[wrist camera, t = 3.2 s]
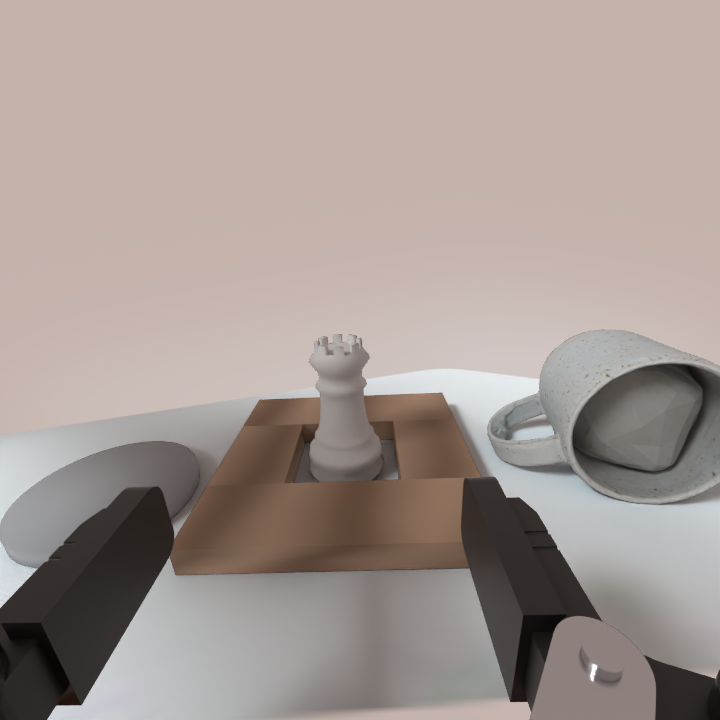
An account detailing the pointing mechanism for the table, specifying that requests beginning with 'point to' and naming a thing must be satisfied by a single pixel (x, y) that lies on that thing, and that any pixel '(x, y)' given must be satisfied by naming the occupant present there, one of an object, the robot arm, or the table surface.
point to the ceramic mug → (622, 417)
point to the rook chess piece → (343, 415)
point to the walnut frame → (332, 497)
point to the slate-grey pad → (93, 495)
